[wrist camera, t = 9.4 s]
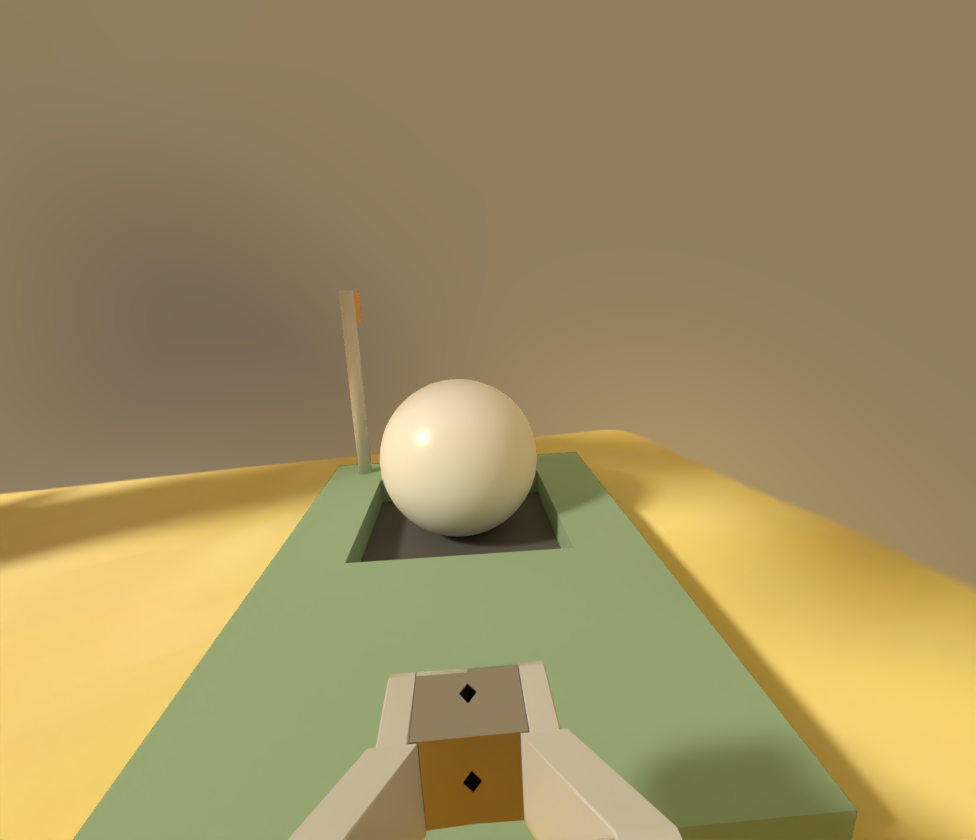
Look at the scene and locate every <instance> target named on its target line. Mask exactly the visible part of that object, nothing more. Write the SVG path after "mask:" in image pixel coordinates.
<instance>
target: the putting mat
mask: <svg viewBox="0 0 976 840" xmlns="http://www.w3.org/2000/svg"><path fill="white" fill-rule="evenodd" d="M339 296H340V306H341V315H342V323H343V332H344V342H345V351H346V359H347V368H348V378H349V385H350V386H349V387H350V396H351V405H352V414H353V422H354V432H355V441H356V450H357V459H358V465H342V466H339V467H338V469H337V470H336V471H335V473H334V474H333V476H332V477H331V478H330V480H329V481H328V483H327V484H326V485H325V487H324V488H323V490H322V491H321V492H320V494H319V495H318V497H317V498H316V499H315V501H314V502H313V504H312V505H311V506H310V508H309V509H308V511H307V512H306V514H305V515H304V516H303V518H302V519H301V521H300V522H299V523H298V525H297V526H296V528H295V529H294V530H293V532H292V533H291V535H290V536H289V537H288V539H287V540H286V542H285V543H284V544H283V546H282V547H281V549H280V550H279V551H278V553H277V554H276V556H275V557H274V558H273V560H272V561H271V563H270V564H269V565H268V567H267V568H266V570H265V571H264V572H263V574H262V575H261V577H260V578H259V579H258V581H257V582H256V584H255V585H254V586H253V588H252V589H251V591H250V592H249V593H248V595H247V596H246V598H245V599H244V600H243V602H242V603H241V605H240V606H239V607H238V609H237V610H236V612H235V613H234V614H233V616H232V617H231V619H230V620H229V621H228V623H227V624H226V626H225V627H224V628H223V630H222V631H221V633H220V634H219V635H218V637H217V638H216V640H215V641H214V642H213V644H212V645H211V647H210V648H209V649H208V651H207V652H206V654H205V655H204V656H203V658H202V659H201V661H200V662H199V663H198V665H197V666H196V668H195V669H194V670H193V672H192V673H191V675H190V676H189V677H188V679H187V680H186V682H185V683H184V684H183V686H182V687H181V689H180V690H179V692H178V693H177V694H176V696H175V697H174V699H173V700H172V701H171V703H170V704H169V706H168V707H167V708H166V710H165V711H164V713H163V714H162V715H161V717H160V718H159V720H158V721H157V722H156V724H155V725H154V727H153V728H152V729H151V731H150V732H149V734H148V735H147V736H146V738H145V739H144V741H143V742H142V743H141V745H140V746H139V748H138V749H137V750H136V752H135V753H134V755H133V756H132V757H131V759H130V760H129V762H128V763H127V764H126V766H125V767H124V769H123V770H122V771H121V773H120V774H119V776H118V777H117V778H116V780H115V781H114V783H113V784H112V785H111V787H110V788H109V790H108V791H107V792H106V794H105V795H104V797H103V798H102V799H101V801H100V802H99V804H98V805H97V806H96V808H95V809H94V811H93V812H92V813H91V815H90V816H89V818H88V819H87V820H86V822H85V823H84V825H83V826H82V827H81V829H80V830H79V832H78V833H77V834H76V836H75V837H74V839H73V840H288V839H289V838H290V836H291V835H292V834H293V833H294V832H295V831H296V830H297V828H298V827H299V826H300V825H301V824H302V823H303V822H304V820H305V819H306V818H307V817H308V816H309V815H310V814H311V812H312V811H313V810H314V809H315V808H316V807H317V806H318V804H319V803H320V802H321V801H322V800H323V799H324V798H325V796H326V795H327V794H328V793H329V792H330V791H331V790H332V788H333V787H334V786H335V785H336V784H337V783H338V782H339V780H340V779H341V778H342V777H343V776H344V775H345V774H346V772H347V771H348V770H349V769H350V768H351V767H352V766H353V764H354V763H355V762H356V761H357V760H358V759H359V758H360V756H361V755H362V754H363V753H364V752H365V751H366V750H367V749H368V748H376V743H377V738H378V732H379V727H380V721H381V716H382V710H383V705H384V699H385V694H386V688H387V682H388V679H389V677H390V675H391V674H398V673H413V672H415V673H417V672H421V671H437V670H452V669H468V668H478V667H489V666H499V665H509V664H517V663H523V662H532V661H541V660H542V661H543V663H544V664H545V668H546V672H547V676H548V680H549V684H550V688H551V691H552V695H553V699H554V703H555V707H556V711H557V715H558V719H559V723H560V727H561V729H570V730H571V731H572V732H573V733H574V734H575V735H576V736H577V737H579V738H580V739H581V740H582V741H583V742H584V743H585V744H586V745H587V746H588V747H589V748H591V749H592V750H593V751H594V752H595V753H596V754H597V755H598V756H599V757H600V758H602V759H603V760H604V761H605V762H606V763H607V764H608V765H609V766H610V767H611V768H612V769H614V770H615V771H616V772H617V773H618V774H619V775H620V776H621V777H622V778H623V779H625V780H626V781H627V782H628V783H629V784H630V785H631V786H632V787H633V788H634V789H636V790H637V791H638V792H639V793H640V794H641V795H642V796H643V797H644V798H645V799H646V800H648V801H649V802H650V803H651V804H652V805H653V806H654V807H655V808H656V809H657V810H659V811H660V812H661V813H662V814H663V815H664V816H665V817H666V818H667V819H668V820H669V821H671V822H672V823H673V824H674V825H675V826H676V827H677V828H678V831H679V833H680V835H681V838H682V840H852V836H853V830H854V825H855V820H856V814H857V809H856V808H855V806H854V805H853V804H852V803H851V801H850V800H849V799H848V798H847V796H846V795H845V794H844V792H843V791H842V790H841V789H840V787H839V786H838V785H837V784H836V782H835V781H834V780H833V778H832V777H831V776H830V775H829V773H828V772H827V771H826V770H825V768H824V767H823V766H822V764H821V763H820V762H819V761H818V759H817V758H816V757H815V755H814V754H813V753H812V752H811V750H810V749H809V748H808V747H807V745H806V744H805V743H804V741H803V740H802V739H801V738H800V736H799V735H798V734H797V733H796V731H795V730H794V729H793V727H792V726H791V725H790V724H789V722H788V721H787V720H786V719H785V717H784V716H783V715H782V713H781V712H780V711H779V710H778V708H777V707H776V706H775V705H774V703H773V702H772V701H771V699H770V698H769V697H768V696H767V694H766V693H765V692H764V691H763V689H762V688H761V687H760V685H759V684H758V683H757V682H756V680H755V679H754V678H753V677H752V675H751V674H750V673H749V671H748V670H747V669H746V668H745V666H744V665H743V664H742V663H741V661H740V660H739V659H738V657H737V656H736V655H735V654H734V652H733V651H732V650H731V649H730V647H729V646H728V645H727V643H726V642H725V641H724V640H723V638H722V637H721V636H720V634H719V633H718V632H717V631H716V629H715V628H714V627H713V626H712V624H711V623H710V622H709V620H708V619H707V618H706V617H705V615H704V614H703V613H702V612H701V610H700V609H699V608H698V606H697V605H696V604H695V603H694V601H693V600H692V599H691V598H690V596H689V595H688V594H687V592H686V591H685V590H684V589H683V587H682V586H681V585H680V584H679V582H678V581H677V580H676V578H675V577H674V576H673V575H672V573H671V572H670V571H669V570H668V568H667V567H666V566H665V564H664V563H663V562H662V561H661V559H660V558H659V557H658V556H657V554H656V553H655V552H654V550H653V549H652V548H651V547H650V545H649V544H648V543H647V542H646V540H645V539H644V538H643V536H642V535H641V534H640V533H639V531H638V530H637V529H636V528H635V526H634V525H633V524H632V522H631V521H630V520H629V519H628V517H627V516H626V515H625V514H624V512H623V511H622V510H621V508H620V507H619V506H618V505H617V503H616V502H615V501H614V499H613V498H612V497H611V496H610V494H609V493H608V492H607V491H606V489H605V488H604V487H603V485H602V484H601V483H600V482H599V480H598V479H597V478H596V477H595V475H594V474H593V473H592V471H591V470H590V469H589V468H588V466H587V465H586V464H585V463H584V461H583V460H582V459H581V457H580V456H579V455H578V454H577V452H568V453H550V454H537V465H536V472H535V477H534V480H533V483H532V486H531V488H530V491H529V493H528V495H527V497H526V498H525V500H524V501H523V503H522V504H521V506H520V507H519V508H518V509H517V510H516V511H515V513H514V514H512V515H511V516H510V517H509V518H508V519H507V520H506V521H504V522H503V523H501V524H500V525H498V526H496V527H494V528H492V529H490V530H488V531H485V532H483V533H480V534H476V535H471V536H459V537H455V536H446V535H441V534H436V533H433V532H430V531H428V530H425V529H423V528H421V527H420V526H418V525H416V524H415V523H413V522H412V521H410V520H409V519H408V518H407V517H406V516H405V515H403V513H402V512H401V511H400V510H399V509H398V508H397V507H396V505H395V504H394V503H393V501H392V499H391V498H390V496H389V494H388V492H387V490H386V488H385V485H384V482H383V479H382V475H381V468H380V463H376V464H371V458H370V448H369V440H368V429H367V420H366V410H365V401H364V391H363V381H362V371H361V362H360V353H359V344H358V333H357V323H358V322H362V317H361V307H360V297H359V292H358V291H353V290H344V291H339ZM424 840H536V839H535V838H534V836H533V835H532V833H531V832H530V831H529V829H528V828H527V826H526V825H525V823H524V820H522V821H508V822H495V823H481V824H476V823H475V824H471V825H464V826H457V827H450V828H443V829H435V830H428V831H426V836H425V838H424Z"/></svg>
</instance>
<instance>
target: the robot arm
mask: <svg viewBox="0 0 976 840" xmlns="http://www.w3.org/2000/svg"><path fill="white" fill-rule="evenodd" d="M522 820H524V823H525V825H526V826H527V828H528V829H529V831H530V832H531V833H532V835H533V836H534V838H535V839H536V840H682V838H681V835H680V833H679V831H678V828H677V827H676V826H675V825H674V824H673V823H672V822H671V821H669V820H668V819H667V818H666V817H665V816H664V815H663V814H662V813H661V812H660V811H659V810H657V809H656V808H655V807H654V806H653V805H652V804H651V803H650V802H649V801H648V800H646V799H645V798H644V797H643V796H642V795H641V794H640V793H639V792H638V791H637V790H636V789H634V788H633V787H632V786H631V785H630V784H629V783H628V782H627V781H626V780H625V779H623V778H622V777H621V776H620V775H619V774H618V773H617V772H616V771H615V770H614V769H612V768H611V767H610V766H609V765H608V764H607V763H606V762H605V761H604V760H603V759H602V758H600V757H599V756H598V755H597V754H596V753H595V752H594V751H593V750H592V749H591V748H589V747H588V746H587V745H586V744H585V743H584V742H583V741H582V740H581V739H580V738H579V737H577V736H576V735H575V734H574V733H573V732H572V731H571V730H570V729H561V727H560V723H559V719H558V715H557V711H556V707H555V703H554V699H553V695H552V691H551V688H550V684H549V680H548V676H547V672H546V668H545V664H544V663H543V661H542V660H541V661H532V662H523V663H517V664H509V665H499V666H489V667H478V668H468V669H452V670H437V671H421V672H417V673H415V672H413V673H398V674H391V675H390V677H389V679H388V682H387V688H386V694H385V699H384V705H383V710H382V716H381V721H380V727H379V732H378V738H377V743H376V748H368V749H367V750H366V751H365V752H364V753H363V754H362V755H361V756H360V758H359V759H358V760H357V761H356V762H355V763H354V764H353V766H352V767H351V768H350V769H349V770H348V771H347V772H346V774H345V775H344V776H343V777H342V778H341V779H340V780H339V782H338V783H337V784H336V785H335V786H334V787H333V788H332V790H331V791H330V792H329V793H328V794H327V795H326V796H325V798H324V799H323V800H322V801H321V802H320V803H319V804H318V806H317V807H316V808H315V809H314V810H313V811H312V812H311V814H310V815H309V816H308V817H307V818H306V819H305V820H304V822H303V823H302V824H301V825H300V826H299V827H298V828H297V830H296V831H295V832H294V833H293V834H292V835H291V836H290V838H289V839H288V840H424V838H425V836H426V831H428V830H435V829H443V828H450V827H457V826H464V825H471V824H475V823H476V824H481V823H495V822H508V821H522Z"/></svg>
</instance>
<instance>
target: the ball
mask: <svg viewBox="0 0 976 840" xmlns="http://www.w3.org/2000/svg"><path fill="white" fill-rule="evenodd" d="M536 465H537V450H536V443H535V438H534V435H533V432H532V429H531V427H530V424H529V422H528V420H527V418H526V417H525V415H524V414H523V412H522V411H521V410H520V408H519V407H518V406H517V405H516V404H515V403H514V402H513V401H512V400H511V399H510V398H509V397H508V396H506V395H505V394H504V393H502V392H501V391H499V390H498V389H496V388H494V387H492V386H490V385H487V384H484V383H481V382H477V381H473V380H467V379H452V380H444V381H439V382H436V383H433V384H430V385H428V386H425V387H423V388H422V389H420V390H418V391H417V392H415V393H413V394H412V395H411V396H410V397H408V398H407V399H406V400H405V401H404V402H403V403H402V404H401V405H400V406H399V407H398V408H397V409H396V411H395V412H394V414H393V415H392V417H391V418H390V420H389V422H388V424H387V427H386V429H385V431H384V434H383V438H382V442H381V447H380V468H381V475H382V479H383V482H384V485H385V488H386V490H387V492H388V494H389V496H390V498H391V499H392V501H393V503H394V504H395V505H396V507H397V508H398V509H399V510H400V511H401V512H402V513H403V515H405V516H406V517H407V518H408V519H409V520H410V521H412V522H413V523H415V524H416V525H418V526H420V527H421V528H423V529H425V530H428V531H430V532H433V533H436V534H441V535H446V536H455V537H459V536H471V535H476V534H480V533H483V532H485V531H488V530H490V529H492V528H494V527H496V526H498V525H500V524H501V523H503V522H504V521H506V520H507V519H508V518H509V517H510V516H511V515H512V514H514V513H515V511H516V510H517V509H518V508H519V507H520V506H521V504H522V503H523V501H524V500H525V498H526V497H527V495H528V493H529V491H530V488H531V486H532V483H533V480H534V477H535V472H536Z"/></svg>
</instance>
